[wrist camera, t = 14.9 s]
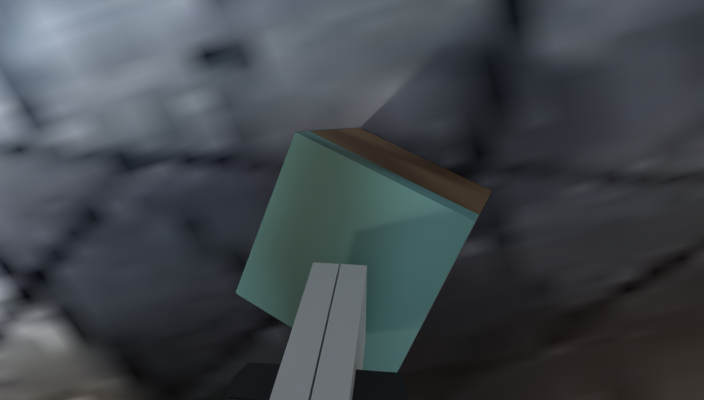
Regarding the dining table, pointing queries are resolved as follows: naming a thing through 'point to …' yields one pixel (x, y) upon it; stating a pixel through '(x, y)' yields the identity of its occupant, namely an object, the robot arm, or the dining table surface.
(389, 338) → the brown and green cube
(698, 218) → the dining table surface
